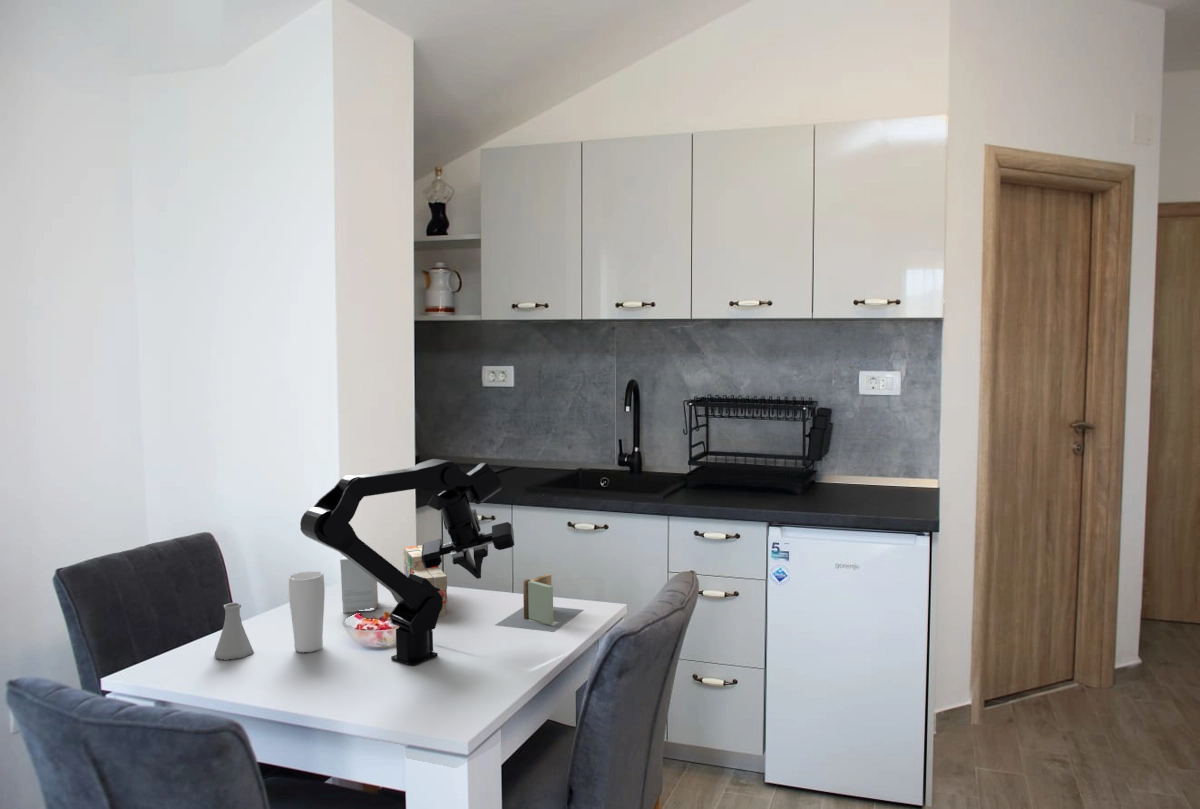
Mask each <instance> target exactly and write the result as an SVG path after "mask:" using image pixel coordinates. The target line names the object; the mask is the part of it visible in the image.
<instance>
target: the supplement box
mask: <svg viewBox="0 0 1200 809" xmlns="http://www.w3.org/2000/svg"><path fill="white" fill-rule="evenodd" d="M374 551H375V552H377V551H376V550H374ZM339 561H340V577H341V578H340V579H341V580H340V581H341V600H342V613H343V614H347V613H348V612H349V613H356V612H355V611H359V610H365V609H370V608H377V606H378V604H379V594H378V592H379V591H378V581H376V580H375V579H374V578H372V577H371V576H370V575H368V574H367V573H366V572H364V571H363V570H362V569H361V568H359V567H358V566H357V565H355V564H354V563H353V562H351V561H350V560H349V559H347V558H346V557H345V556H344V555H342V557H341V558H340V559H339ZM352 611H353V612H352Z"/></svg>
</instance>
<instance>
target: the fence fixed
mask: <svg viewBox="0 0 1200 809" xmlns="http://www.w3.org/2000/svg"><path fill="white" fill-rule="evenodd" d="M529 581H535V582H539V583H543V584H546V585H550V586H553V585H552V574H549V573H546V574H543V575H541V576H537V577H535V578H531V579H529V578H527V579H523V581H522V584H523V585H522V587H523V588H522V590H523V591H522V593H523V594H522V595H523V607H524V619H530V618H529V606H528V582H529Z"/></svg>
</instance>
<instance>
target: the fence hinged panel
mask: <svg viewBox="0 0 1200 809" xmlns="http://www.w3.org/2000/svg"><path fill="white" fill-rule="evenodd" d="M528 606H529V618H530V619H534V620H537V621H540V622H543V623H546V624H552V623H554V622H553V607H554V586H553V585H552V586H550V585H546V584H543V583H539V582H535V581H529V582H528Z"/></svg>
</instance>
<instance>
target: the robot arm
mask: <svg viewBox="0 0 1200 809" xmlns="http://www.w3.org/2000/svg"><path fill="white" fill-rule="evenodd" d="M502 488H503V484H502V480H501V478H500V476H498V474H497V473H496V472H495V471H494V469H492V468H491V467H490V465H489V463H486V462H480V463H479V464H478V465H476V467H474V468H473V469H472V470H470V471H468V472H467V473H466V472H464V471H462V470H461V468H460V467H459V465H458V464H457V463H456V462H455V461H453V460H451V461H450V460H445V459H438V458H432V459H428V460H424V461H422V462H419V463H417V464H415V465H414V466H412V467H411V466H410V467H409V468H402V469H396V470H387V471H380V472H379V471H378V472H372V473H366V474H365V473H364V474H358V475H350V474H347V475H344V476H343V477H342V478H341V479H339V481H338V482H337V483H336V485H334V486H333V488H332V489H331V490H329V491H328V492H327V493H326V494H324V495H323V496H321V497H320V498H319V499H318V500H317V502H316V503H315V504H314V505H313V506H312V507H311V508H309V509H307V510H306V511H305V512H304V513H303V514H302V517H301V519H300V523H299V524H300V531H301V533H302V534H303V535H304V536H305V537H306V538H309V540H310V539H311V540H313V541H314V542H317V543H319V544H322V545H323V546H325V547H327V548H329V549H332V550H334V551H336V552H338V553H339V554H341V555H342V556H343V555H344V556H345V557H346V558H347V559H349V560H350V561H351V562H353V563H354V564H355V565H357V566H358V567H359V568H361V569H362V570H363V571H364V572H366V573H367V574H368V575H370V576H371V577H372V578H374V579H375V580H376V581H377V583H379V584H380V585H381V586H382V587H384V588H385V589H386V590H388V591H389V592H390V593H391V595H392V597H393V598H394V600H395V602H396V603H397V604H396V606H395V607H394V608H393V609H392V611H391V612H390V614H388V616H389V618H390V622H391V624H392V625H395V626H397V627H398V628H396V629H395V643H396V645H395V646H396V647H395V648H396V649H395V650H396V654H395V655H392V656H390V659H391V660H392V661H396V662H399V663H403V664H406V665H410V666H416V665H419V664H421V663H423V662H426V661H428V660H429V661H430V660H431V659H433V658H436V657H438V652H435V651H434V638H433V636H434V634H433V630H435V629H436V627H437V623H438V620H439V613H440V612H441V610H442V606H443V597H442V595H441V594H440V593H439V592H438V591H440V589H439V588H437V587H434V586H433V585H432V584H431V583H430V582H429V581H428V580H427V579H426V578H424V577H421V576H418V575H416V574H413V573H410V575H409V577H407V576H406V575H405V573H403V571H401V570H400V569H398V568H397V567H395V565H393V564H392V563H391V562H389V561H388V560H387V559H386V558H384V557H383V556H382V555H381V554H380V553H378V552H377V551H376V550H374V549H373V548H372V547H370V546H369V545H368V544H366V543H365V542H364V541H363V540H362V539H360V538H359V536H358V535H357V534H356V532H355V529H354V528H353V526H352V525H351V524H350V522H351V521H352V519H353V518H354V516H355V515H356V512H357V509H358V508H359V504H360V503H361V501H362V500H363V499H364V498H365V497H372V496H378V495H384V494H385V495H386V494H389V493H390V494H392V493H398V492H403V491H410V490H431V491H441V492H440V493H439V494H436V493H433V494H432V496H431V498H430V500H429V501H428V502H427V506H428V507H429V508H432V509H434V510H436V511H440V512H441V514H442V521H443V525H444V529H445V530H446V531H447V532H448V535H449V537H450V538H449V539H450V540H451V542H448V543H445V544H444V543H443V540H442V539H441V538H439V539H438V538H437V539H435V540H429V541H425V542H424V543H423V544H422V545H423V546H422V555H421V559H422V563H423V565H424V568H431V567H435V566H440V565H441V564H442V562H443V558H442V556H444V555H448V554H449V555H450V556H451V558H452V564H453V565H458V566H460V567H462V568H463V569H465V570H466V571H467V572H469V573H470V574H471V575H472V576H473V577H474V578H476V580H479V579H482V565H483V560H484V558H487V556H489V545H491V544H492V545H493V547H494V549H496V550H498V551H502V550H506V549H511V548H513V547H514V546H515V535H514V534H515V532H514V528H513V524H511V522H509V521H506V522H502V523H498V524H493V525H491V532H490V533H485V532H481V530H482V529H481V525H480V521H479V517H478V513H477V510H476V508H475V509H472V507H471V504H473V503H474V504H475V505H480V504H482V503H483V502H485V501H486V500H487V499H489V498H491V497H492V496H493V495H495V494H496V493H498V492H499V491H501V490H502ZM471 549H472V550H473V557H472V554H471V552H470V550H471ZM375 551H376V552H375Z"/></svg>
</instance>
